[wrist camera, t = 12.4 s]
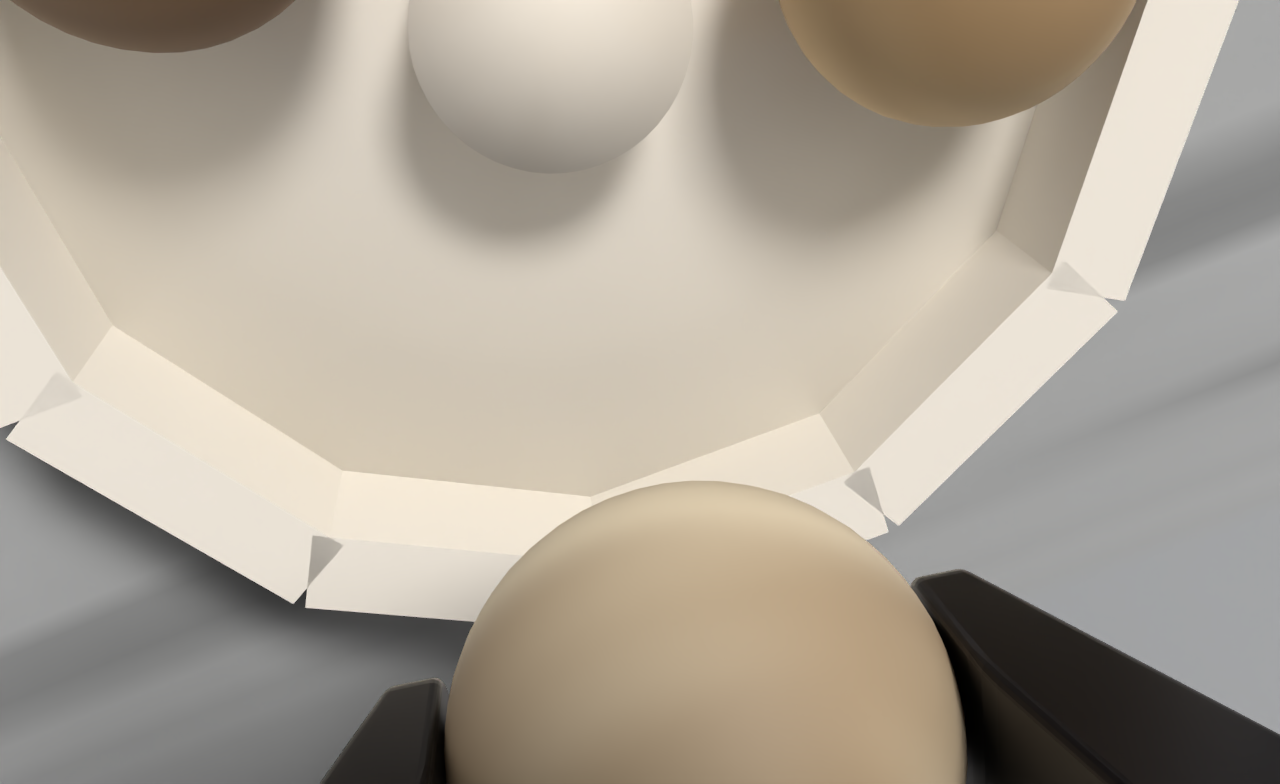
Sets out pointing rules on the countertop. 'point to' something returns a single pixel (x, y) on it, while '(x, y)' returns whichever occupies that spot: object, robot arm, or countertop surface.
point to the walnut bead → (156, 21)
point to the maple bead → (704, 654)
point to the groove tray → (539, 273)
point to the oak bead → (953, 52)
